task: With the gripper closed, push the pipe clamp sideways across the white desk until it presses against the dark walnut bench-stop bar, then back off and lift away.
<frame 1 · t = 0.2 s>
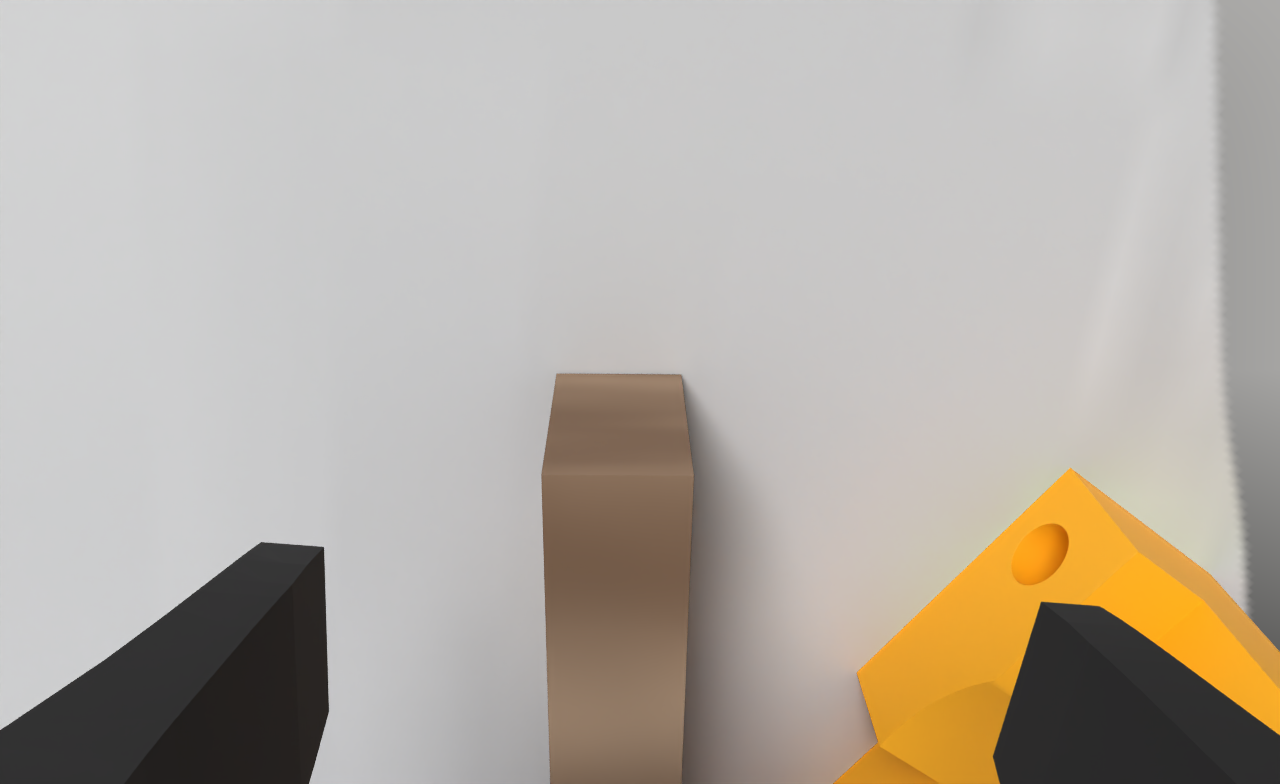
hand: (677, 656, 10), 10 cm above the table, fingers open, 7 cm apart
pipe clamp: (936, 693, 24), on the table
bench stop: (616, 767, 21), point 2 cm above the table, slide at 0.0 cm
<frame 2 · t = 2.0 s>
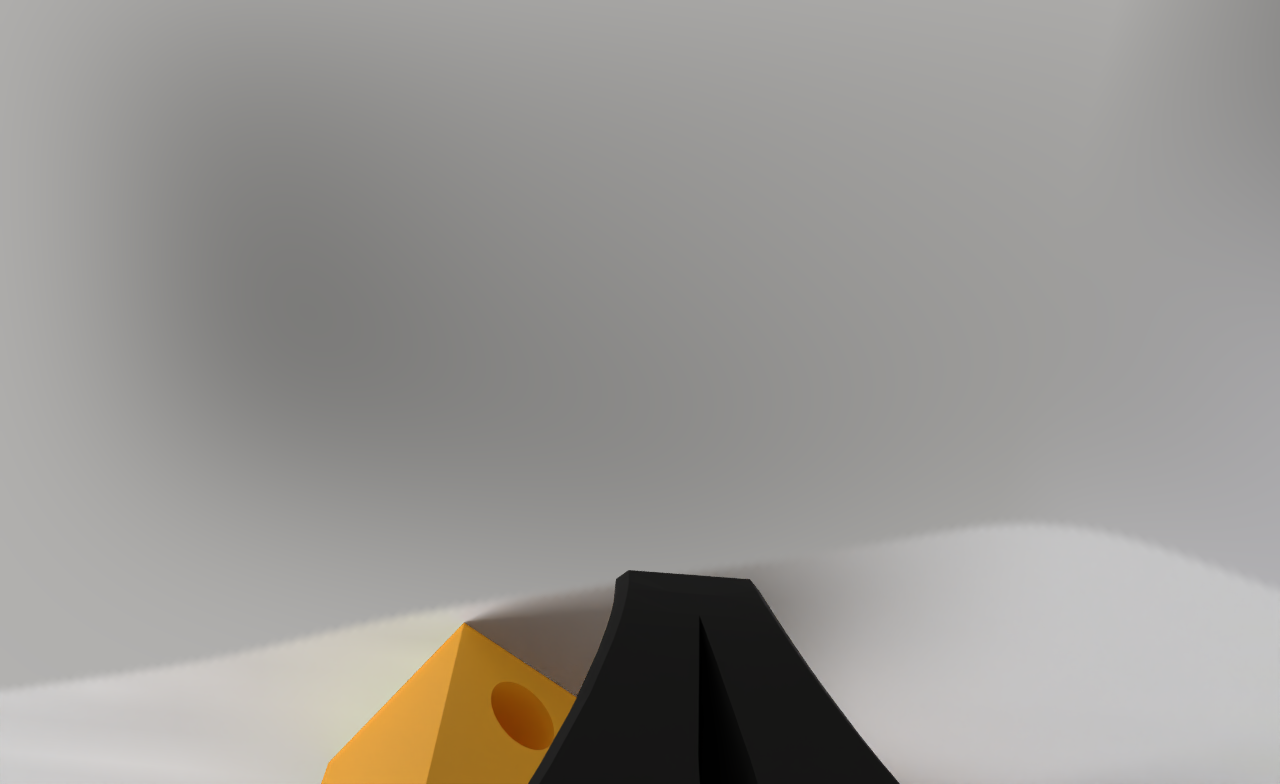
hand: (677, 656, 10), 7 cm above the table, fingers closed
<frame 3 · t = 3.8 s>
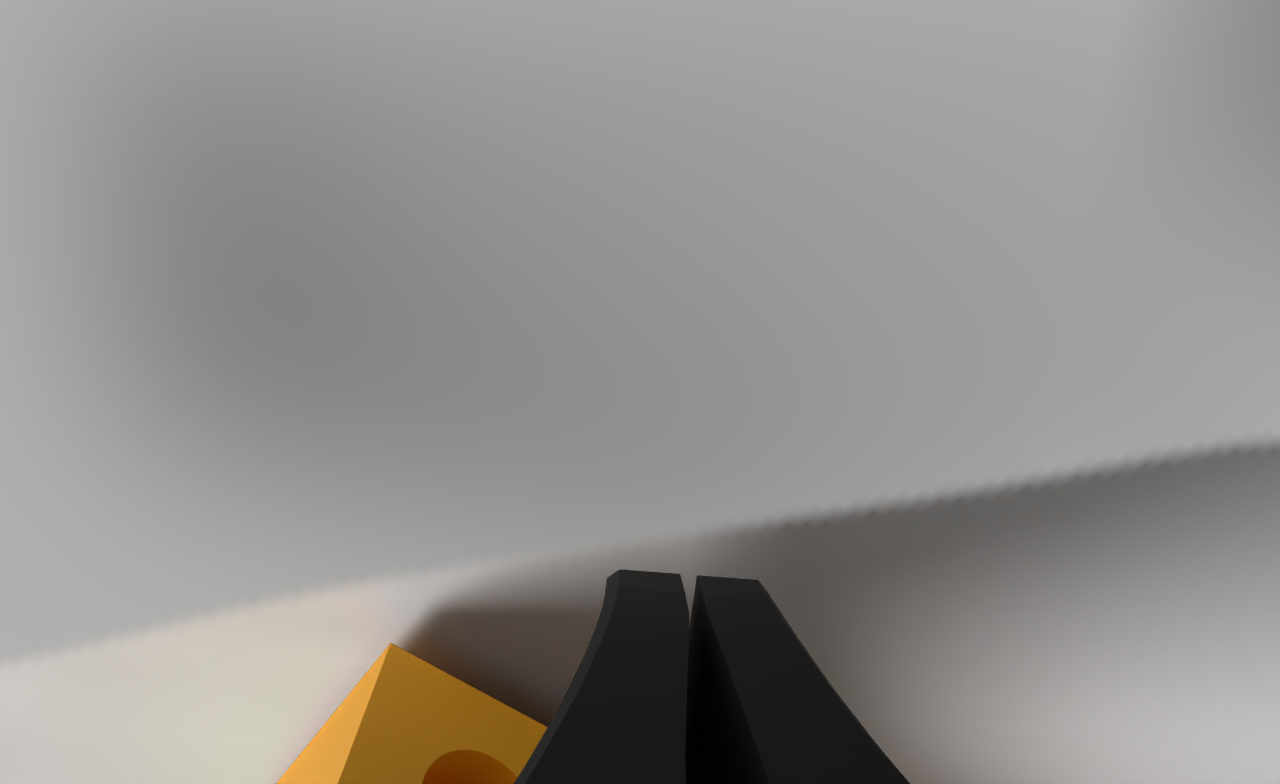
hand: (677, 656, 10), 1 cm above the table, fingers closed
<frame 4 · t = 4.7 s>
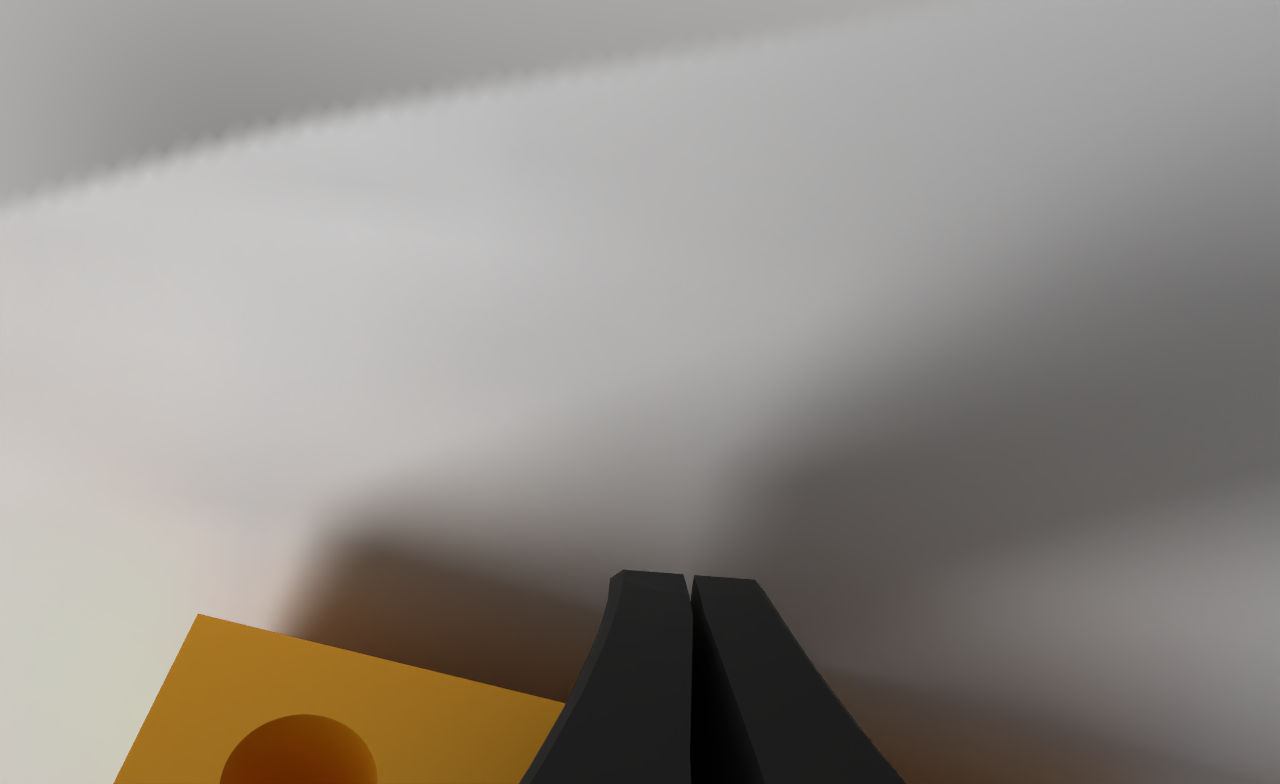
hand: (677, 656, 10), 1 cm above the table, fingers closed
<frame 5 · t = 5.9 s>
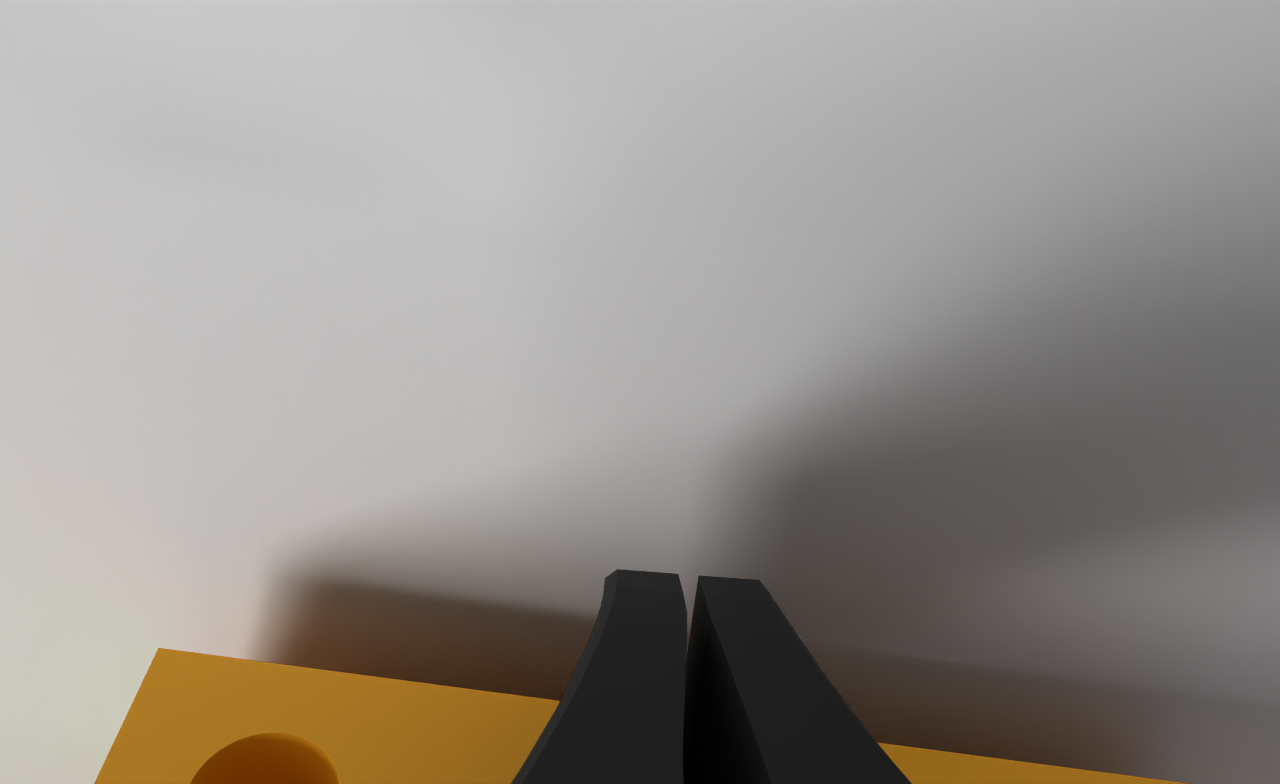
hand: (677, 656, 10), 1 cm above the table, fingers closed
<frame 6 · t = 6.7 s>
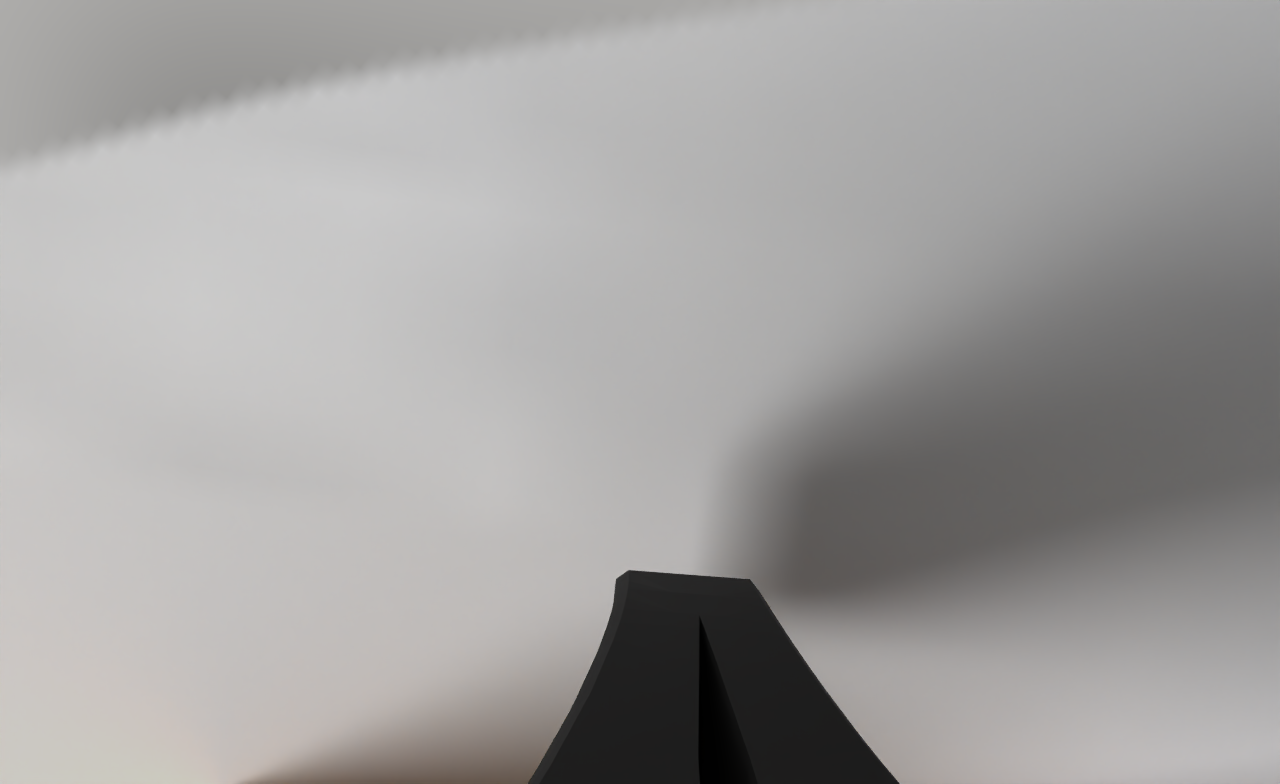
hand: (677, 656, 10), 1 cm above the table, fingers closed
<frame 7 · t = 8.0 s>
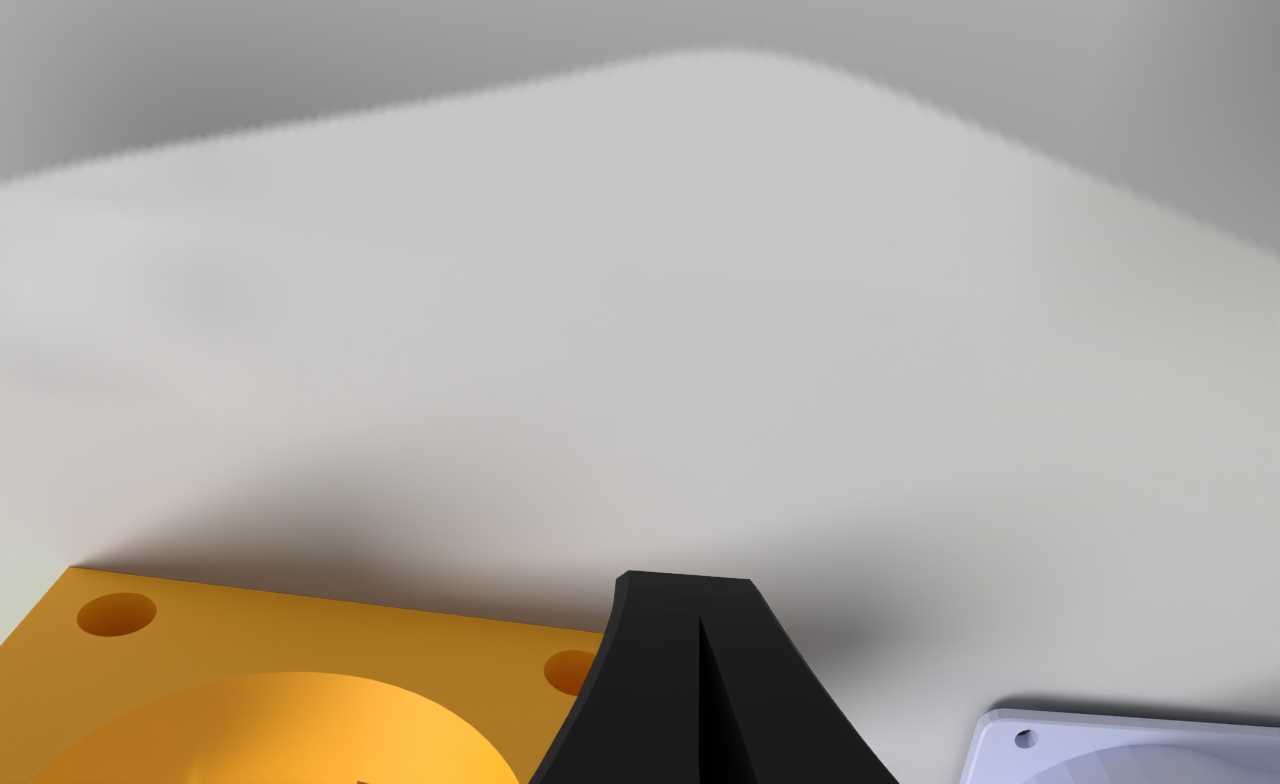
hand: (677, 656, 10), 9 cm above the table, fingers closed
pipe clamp: (365, 674, 23), on the table
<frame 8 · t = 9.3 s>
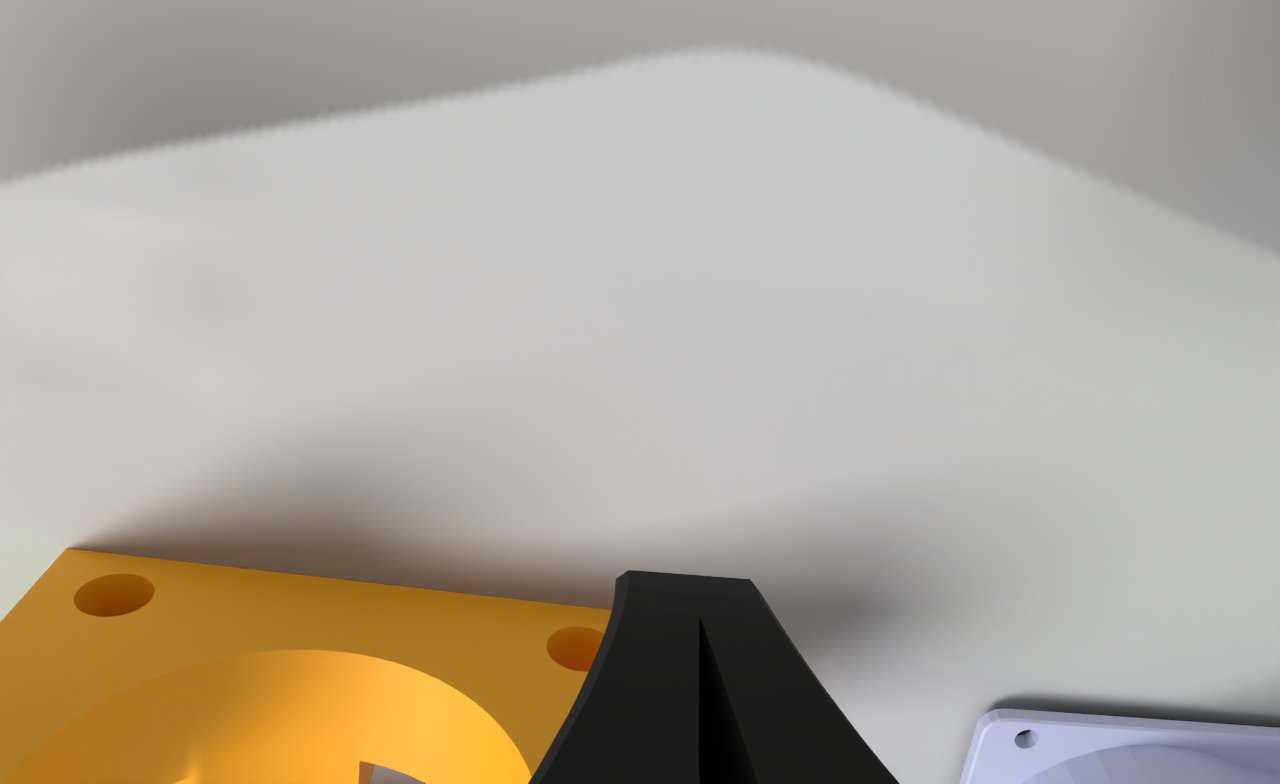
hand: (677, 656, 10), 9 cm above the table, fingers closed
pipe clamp: (366, 655, 23), on the table
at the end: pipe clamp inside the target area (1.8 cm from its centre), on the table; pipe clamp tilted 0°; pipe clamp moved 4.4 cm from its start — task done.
